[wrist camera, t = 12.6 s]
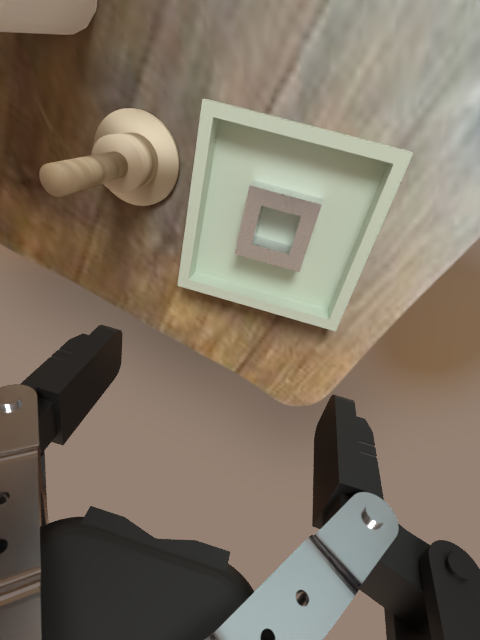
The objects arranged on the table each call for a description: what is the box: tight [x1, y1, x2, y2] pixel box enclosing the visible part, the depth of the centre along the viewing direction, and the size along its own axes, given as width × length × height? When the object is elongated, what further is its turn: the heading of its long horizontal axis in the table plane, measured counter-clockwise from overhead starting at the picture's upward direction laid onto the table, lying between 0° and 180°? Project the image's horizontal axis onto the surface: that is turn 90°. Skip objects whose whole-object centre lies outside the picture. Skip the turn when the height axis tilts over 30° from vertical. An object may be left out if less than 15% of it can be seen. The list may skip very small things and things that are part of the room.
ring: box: [235, 180, 322, 272], centre depth 31 cm, size 6×6×2 cm
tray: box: [178, 99, 413, 331], centre depth 32 cm, size 16×16×3 cm
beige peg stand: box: [39, 108, 180, 206], centre depth 27 cm, size 8×8×12 cm
